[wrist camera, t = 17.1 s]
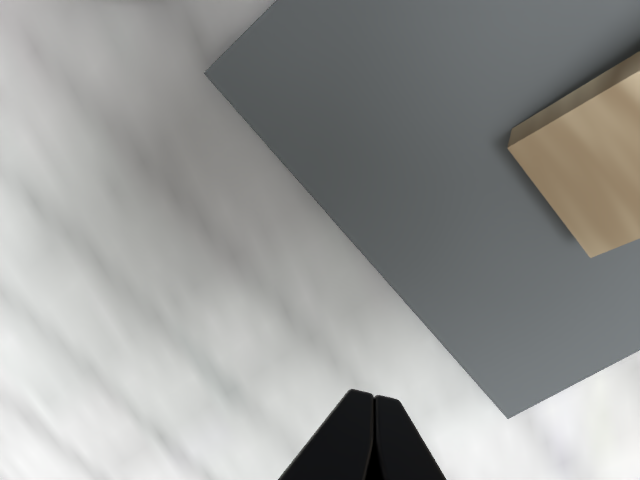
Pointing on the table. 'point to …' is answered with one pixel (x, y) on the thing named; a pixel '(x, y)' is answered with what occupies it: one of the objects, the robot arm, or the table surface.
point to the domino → (589, 157)
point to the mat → (450, 167)
